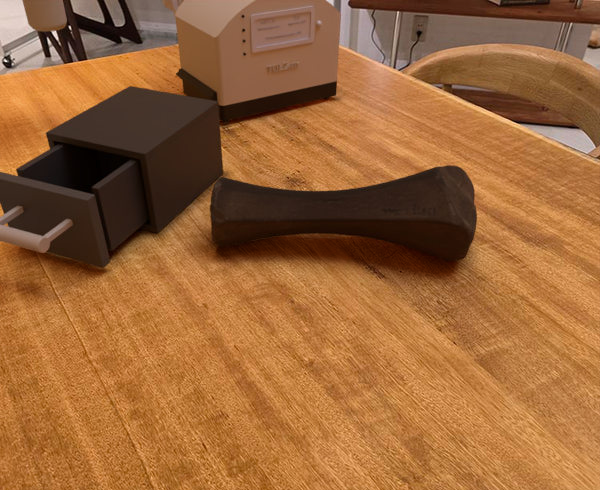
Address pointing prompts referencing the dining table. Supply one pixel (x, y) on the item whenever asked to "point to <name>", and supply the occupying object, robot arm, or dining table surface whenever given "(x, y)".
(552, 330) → the dining table surface
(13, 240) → the dark grey drawer
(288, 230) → the dark brown bone
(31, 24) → the beverage can
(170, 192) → the dark brown drawer cabinet
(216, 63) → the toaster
